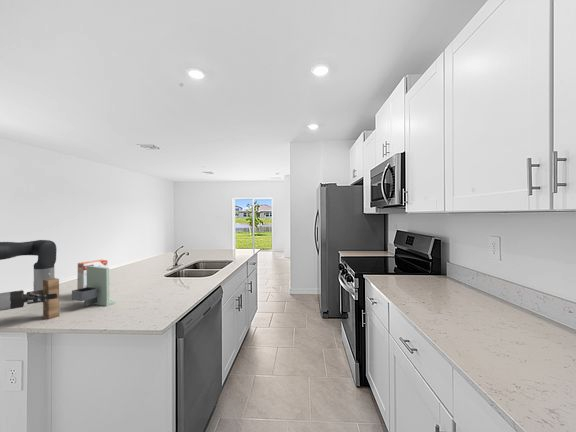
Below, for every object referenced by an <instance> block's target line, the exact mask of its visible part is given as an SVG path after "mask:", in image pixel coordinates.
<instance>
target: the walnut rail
mask: <svg viewBox="0 0 576 432" xmlns="http://www.w3.org/2000/svg"><path fill="white" fill-rule="evenodd" d="M55 293H57V298H55V299H49V300H47V299H46V301H45V302H42V317H43V319H46V320H51V319H55V318H58V317H60V279H59V278H58V277H57V278H56V277H55V278H50V279H45V280H43V295H46V296H47V295H48V294H55Z"/></svg>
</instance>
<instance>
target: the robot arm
mask: <svg viewBox="0 0 576 432" xmlns="http://www.w3.org/2000/svg"><path fill="white" fill-rule="evenodd" d="M20 256H22V257H23V256H37V261H36V262H35V263H33V290H32V291H27V292H26V293H25V292H24V290H23V289H21V290H14V291H8V292H7V291H6V292H1V293H0V311H2V312H3V311H8V310H13V309H20V308H23V307H24V306H25V303H27V305H31V304H37V303H43V302H45V301H46V299H47V300H49V299H55V298H57V293H55V294H48V295H47V296H46V295H43V280H45V279H50V278H56V277H55V264H56V261H57V245H56V243H55V242H54V241H53V240H49V239H38V240H37V239H36V240H30V241H23V242H22V241H21V242H16V241H15V242H14V241H0V261H1V260H8V259H11V258H16V257H20ZM24 293H25V294H24Z"/></svg>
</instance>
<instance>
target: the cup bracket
mask: <svg viewBox="0 0 576 432" xmlns="http://www.w3.org/2000/svg"><path fill="white" fill-rule="evenodd" d="M71 300H74V301H77V302H84V306H85V307H86V306H90V305H93V304H94V305H97V306H98V305H99V306H103V307H109V306H112V305H115V304H117V303H116V300H110V267H107V268H104V267H96V266H87V287H85V288H81V289H73V290H71Z"/></svg>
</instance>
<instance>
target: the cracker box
mask: <svg viewBox="0 0 576 432" xmlns="http://www.w3.org/2000/svg"><path fill="white" fill-rule="evenodd" d="M87 266H96V267H104V268H108V259H107V260H106V259H97V260H91V261H90V260H89V261H83V262H82V261H81V262H78V263H77V277H76V278H77V285H76V286H77V289H81V288H85V287H87ZM77 289H76V290H77Z"/></svg>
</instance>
